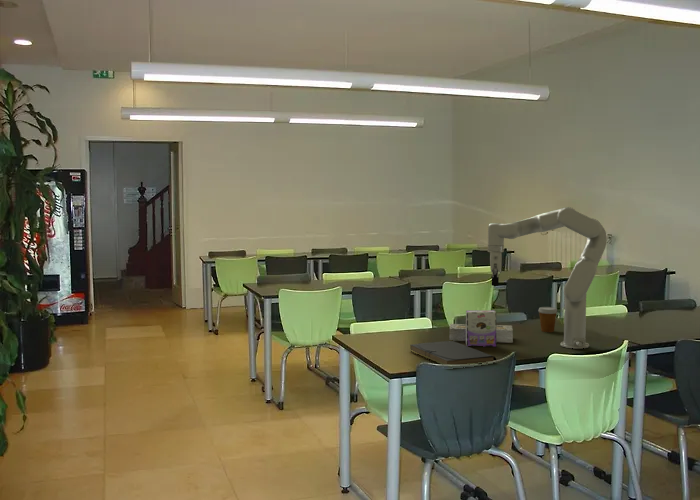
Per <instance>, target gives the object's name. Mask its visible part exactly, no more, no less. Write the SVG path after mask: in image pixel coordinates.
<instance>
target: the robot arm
mask: <svg viewBox="0 0 700 500" xmlns="http://www.w3.org/2000/svg"><path fill="white" fill-rule="evenodd" d="M561 228H567V229H569V230H571V231H572V232H575V233H577V234H578V235H581V236H582V237H585V238H586V243H585V245H584V247H583V250H582V252H581V254H580V256H579V258H578V259H577V261H576V262H575V264H574V267H573V268H572V271H571V272H570V275H569V277H568V279H567V281H566V283H565V285H564V287H563V296H564V309H563V310H564V311H563V312H564V313H563V314H564V315H563V341H561V342H560V345H559V346H561V347H563V348H567V349H572V348H573V350H575V349H576V350H583V348H584V349H588V348H589V347H590V344H589V343H588V342H586V335H587V333H586V329H587V328H586V324H587V323H586V322H587V293H588V291H589V289H590V286H591V284H592V282H593V281H594V278H595V276H596V274H597V268H598V265H599V263H600V261H601V259H602V257H603V254H604V252H605V250H606V247H607V242H608V238H607V237H608V236H607V232H606V229H605V228H604V226H603V225H602V223H601V222H600V221H599V220H597V219H596V218H593V217H589V216H587V215H585V214H582V213H581V212H579V211H577V210H575V208H573V207H570V206H566V207H562V208H558V209H554V210H551V211H547V212H543V213H539V214H537V215H534V216H532V217H529V218H525V219H524V218H523V219H522V220H518V221H513V222H509V223H501V222H491V223H489V224H488V226H487V252H488V253H489V265H490V267H489V268H490V272H491V286H493V287H494V286H495V287H498V286H499V284H500V283H499V279H500V278H499V273H500V274H501V273H502V257H503V256H502V253H504V251H505V248H504V247H505V239H509V240H514V239H516V238H520V237H523V236H527V235H531V234H535V233H544V232H548V231H552V230H556V229H561Z"/></svg>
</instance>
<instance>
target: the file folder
mask: <svg viewBox="0 0 700 500" xmlns="http://www.w3.org/2000/svg"><path fill="white" fill-rule="evenodd" d="M409 345H410V348H409V349H411V350H413V351H415V352H417V353H419V354H422V355H425V356H428V357H430V358H432V359H435V360H438V361H440V362H442V363H444V364H467V363H478V362H486V361H493V360H496V361H497V358H496V356H494V355H492V354H489V353H487V352H483V351H480V350H478V349H475V348H473V347H468V346H466V344H462V343H459V342H458V341H449V340H445V341H444V340H443V341H435V342H424V343H423V342H422V343H421V342H420V343H415V344H413V343H412V344H409Z"/></svg>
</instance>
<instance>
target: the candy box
mask: <svg viewBox="0 0 700 500" xmlns="http://www.w3.org/2000/svg"><path fill="white" fill-rule="evenodd" d="M465 324H466V341H465V346H473V347H474V346H483V348H485V347H497V342H496V325H497V311H496V310H492V309H491V310H477V309H475V310H465Z"/></svg>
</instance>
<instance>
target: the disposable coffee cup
mask: <svg viewBox="0 0 700 500" xmlns="http://www.w3.org/2000/svg"><path fill="white" fill-rule="evenodd" d="M537 311H538V315H539V321H540V322H539V323H540V331H541V332H543V333H553V332H555V328H556V319H557V313H558V309H557V308H556V307H552V306H541V307H539V308H538V310H537Z"/></svg>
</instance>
